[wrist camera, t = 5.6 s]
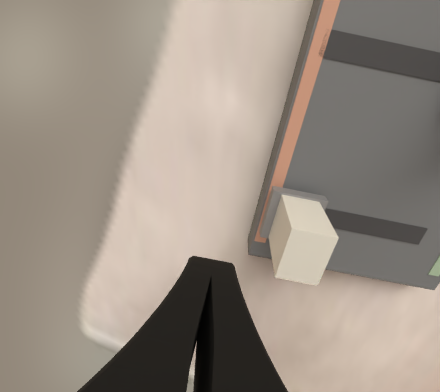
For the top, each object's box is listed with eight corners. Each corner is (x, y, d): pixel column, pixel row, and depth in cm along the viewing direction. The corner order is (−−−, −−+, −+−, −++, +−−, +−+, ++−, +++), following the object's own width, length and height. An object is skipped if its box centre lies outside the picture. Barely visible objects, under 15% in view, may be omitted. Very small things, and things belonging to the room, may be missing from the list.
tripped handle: (325, 196, 14) (350, 237, 11) (308, 240, 15) (326, 289, 12) (272, 185, 14) (281, 224, 11) (259, 230, 15) (264, 277, 12)
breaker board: (584, 8, 12) (629, 2, 11) (419, 272, 18) (434, 291, 17) (326, -48, 12) (338, -62, 10) (247, 239, 18) (248, 255, 16)
